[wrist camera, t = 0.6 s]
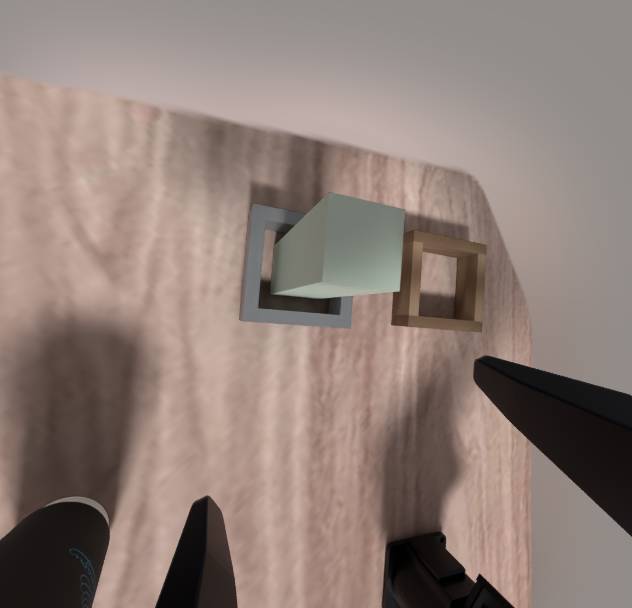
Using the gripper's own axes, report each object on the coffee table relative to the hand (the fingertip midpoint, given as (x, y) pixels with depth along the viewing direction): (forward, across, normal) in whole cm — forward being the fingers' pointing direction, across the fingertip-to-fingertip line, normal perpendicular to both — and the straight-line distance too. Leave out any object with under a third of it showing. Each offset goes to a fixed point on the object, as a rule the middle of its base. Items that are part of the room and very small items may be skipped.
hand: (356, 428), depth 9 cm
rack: (+16, -16, +8) cm, 24 cm away
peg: (+17, -3, +2) cm, 17 cm away
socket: (+17, -3, +2) cm, 17 cm away
